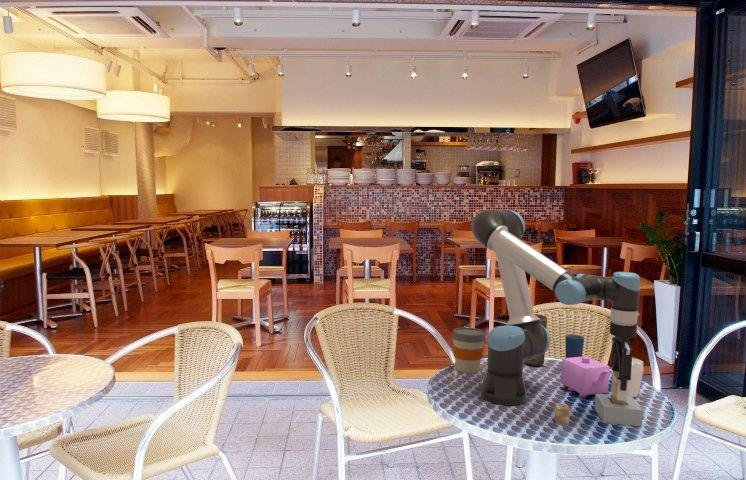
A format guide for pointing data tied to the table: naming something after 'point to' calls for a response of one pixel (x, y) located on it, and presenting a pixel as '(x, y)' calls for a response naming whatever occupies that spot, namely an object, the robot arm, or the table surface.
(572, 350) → the cup
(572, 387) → the teapot
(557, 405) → the short peg
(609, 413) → the socket block
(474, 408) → the table surface
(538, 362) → the candle
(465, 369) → the reusable coffee cup
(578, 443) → the table surface
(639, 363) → the cup
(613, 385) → the long peg
